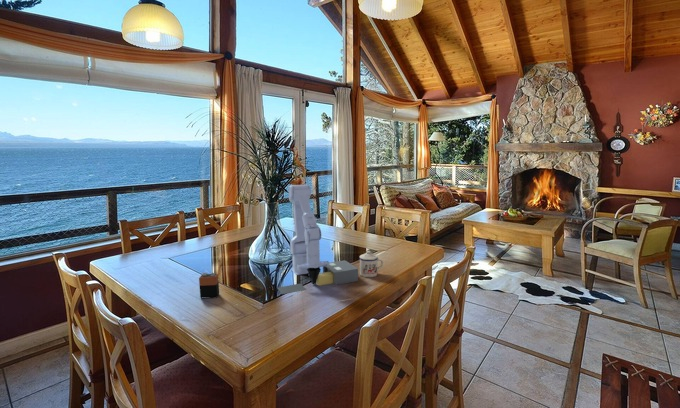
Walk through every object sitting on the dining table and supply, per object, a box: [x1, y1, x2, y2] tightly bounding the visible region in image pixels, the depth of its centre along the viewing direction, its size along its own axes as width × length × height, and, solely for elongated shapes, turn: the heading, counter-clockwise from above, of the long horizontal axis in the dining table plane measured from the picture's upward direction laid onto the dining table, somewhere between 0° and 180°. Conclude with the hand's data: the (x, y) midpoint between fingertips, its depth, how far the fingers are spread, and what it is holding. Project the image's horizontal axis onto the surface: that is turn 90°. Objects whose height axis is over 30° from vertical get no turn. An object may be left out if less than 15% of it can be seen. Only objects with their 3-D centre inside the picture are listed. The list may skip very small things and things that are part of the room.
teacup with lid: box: [358, 250, 384, 278], centre depth 168 cm, size 12×9×12 cm
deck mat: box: [276, 283, 307, 295], centre depth 151 cm, size 8×11×1 cm
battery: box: [198, 272, 220, 298], centre depth 144 cm, size 4×7×10 cm, turn 96°
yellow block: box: [316, 272, 334, 286], centre depth 157 cm, size 4×8×4 cm, turn 114°
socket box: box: [322, 259, 359, 285], centre depth 164 cm, size 14×12×6 cm
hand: (313, 283), depth 155 cm, fingers closed
